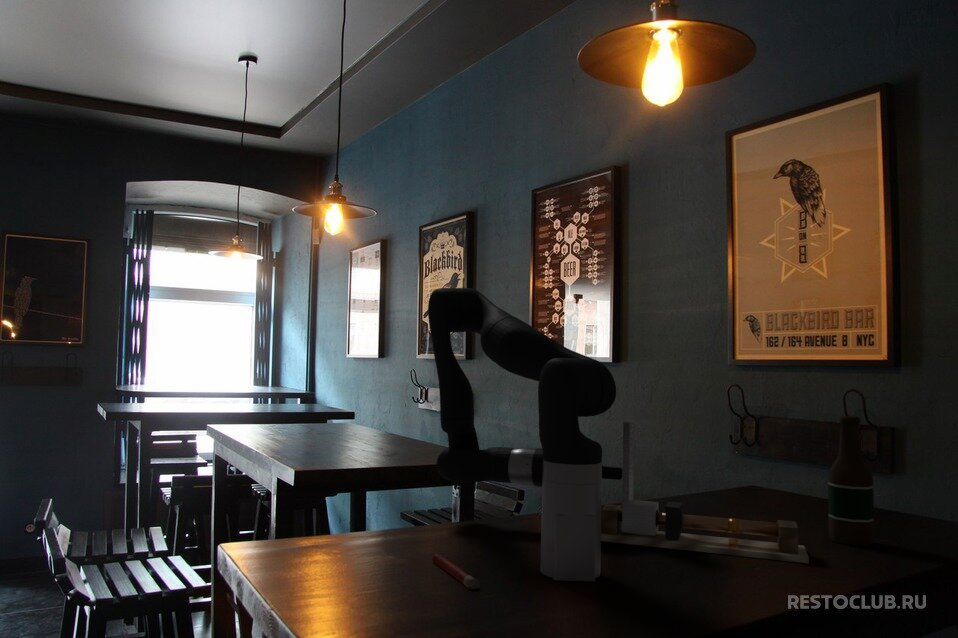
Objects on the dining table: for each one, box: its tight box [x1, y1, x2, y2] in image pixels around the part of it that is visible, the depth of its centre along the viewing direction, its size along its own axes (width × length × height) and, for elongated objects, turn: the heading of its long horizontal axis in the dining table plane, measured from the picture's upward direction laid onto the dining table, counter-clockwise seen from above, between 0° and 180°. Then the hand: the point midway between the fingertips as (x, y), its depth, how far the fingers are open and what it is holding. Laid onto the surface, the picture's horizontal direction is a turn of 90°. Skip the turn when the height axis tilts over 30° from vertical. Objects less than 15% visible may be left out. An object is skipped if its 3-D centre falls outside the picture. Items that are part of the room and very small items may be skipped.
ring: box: [664, 501, 682, 539], centre depth 132 cm, size 2×6×6 cm, turn 160°
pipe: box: [618, 508, 779, 538], centre depth 130 cm, size 32×3×3 cm, turn 70°
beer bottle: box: [827, 415, 875, 547], centre depth 137 cm, size 8×8×24 cm
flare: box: [431, 553, 480, 590], centre depth 108 cm, size 2×15×2 cm, turn 24°
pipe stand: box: [601, 504, 810, 564], centre depth 130 cm, size 37×9×5 cm, turn 70°
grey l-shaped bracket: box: [621, 419, 659, 535], centre depth 134 cm, size 6×6×20 cm
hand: (622, 473), depth 136 cm, fingers closed
